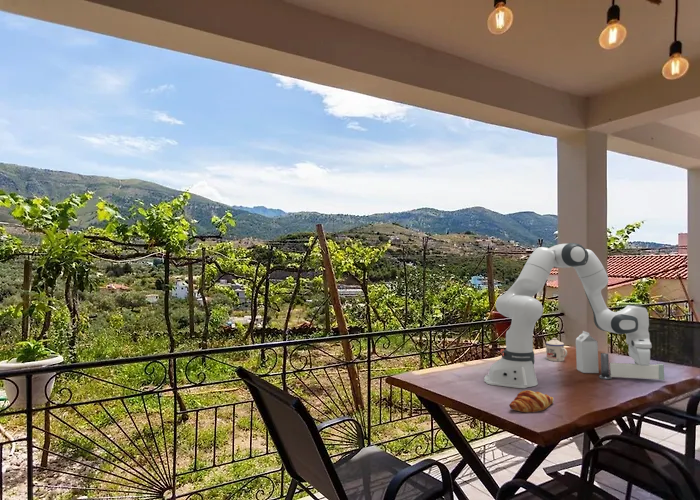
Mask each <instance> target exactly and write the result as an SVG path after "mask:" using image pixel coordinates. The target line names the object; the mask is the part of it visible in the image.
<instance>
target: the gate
mask: <svg viewBox="0 0 700 500" xmlns="http://www.w3.org/2000/svg"><path fill="white" fill-rule="evenodd" d="M609 376H611V377H612V378H625V379H644V380H645V379H646V380H661V381H665V365H664V364H663V363H657V364H651V363H650V364H649V366H644V365H639V364H635V363H625V362H623V363H622V362H609Z"/></svg>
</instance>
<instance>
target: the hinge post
mask: <svg viewBox="0 0 700 500" xmlns="http://www.w3.org/2000/svg"><path fill="white" fill-rule="evenodd" d="M609 359H610V358H609V353H605V352H602V353H600V370H601V371H600V372H601V373H600V375H598V378H599V379H600V380H606V381H609V380H610V381H612V379H613V377H611V376H610V366H609V363H610V362H609Z"/></svg>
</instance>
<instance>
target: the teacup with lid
mask: <svg viewBox="0 0 700 500" xmlns="http://www.w3.org/2000/svg"><path fill="white" fill-rule="evenodd" d="M545 348H546V360H548V361H550V362H564V361H565V358H566V357H567V355H568V350H567V348H565V343H564V342H562V341H560V340H558V338H557V337H553V338H552V339H550V340H549V341H548V340H547V341H545Z"/></svg>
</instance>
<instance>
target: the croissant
mask: <svg viewBox="0 0 700 500" xmlns="http://www.w3.org/2000/svg"><path fill="white" fill-rule="evenodd" d="M552 404H554V397H553V396H550V395H548V394H547V393H546V394H544V393H542V392H540V391H533V390H529V389H527V390H522V391H520V392H519V393H518V394H517V396H516V397H514V399H513V400H512V401H511V402H510V403H509V404H508V405H509V408H510V409H511V410H512V411H517V412H522V413H537V412H542V411H544V410H546V409H548V408H549V407H550V406H551V405H552Z"/></svg>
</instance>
